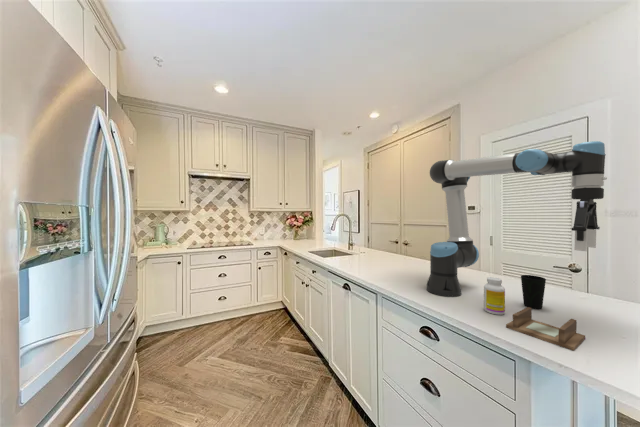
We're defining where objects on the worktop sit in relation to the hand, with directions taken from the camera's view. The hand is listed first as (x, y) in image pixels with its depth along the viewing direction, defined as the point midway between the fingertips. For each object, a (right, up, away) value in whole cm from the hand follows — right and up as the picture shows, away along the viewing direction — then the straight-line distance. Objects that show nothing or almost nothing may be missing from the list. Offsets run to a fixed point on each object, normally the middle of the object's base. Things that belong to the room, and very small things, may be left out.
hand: (585, 249), depth 84 cm
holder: (-21, -26, -7) cm, 34 cm away
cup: (-6, -26, +14) cm, 30 cm away
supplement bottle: (-25, -26, +9) cm, 37 cm away
